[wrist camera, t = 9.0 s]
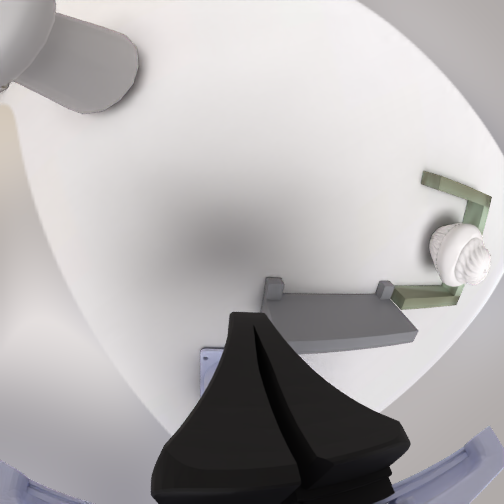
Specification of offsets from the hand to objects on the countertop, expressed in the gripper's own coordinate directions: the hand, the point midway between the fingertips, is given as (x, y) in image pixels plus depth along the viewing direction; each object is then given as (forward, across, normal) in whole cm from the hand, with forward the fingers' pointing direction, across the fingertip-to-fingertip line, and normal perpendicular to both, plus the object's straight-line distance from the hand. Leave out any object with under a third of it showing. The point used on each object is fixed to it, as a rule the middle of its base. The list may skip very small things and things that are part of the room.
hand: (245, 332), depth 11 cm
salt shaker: (+11, +10, -11) cm, 19 cm away
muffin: (+11, -20, -1) cm, 23 cm away
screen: (+10, -9, +5) cm, 15 cm away
